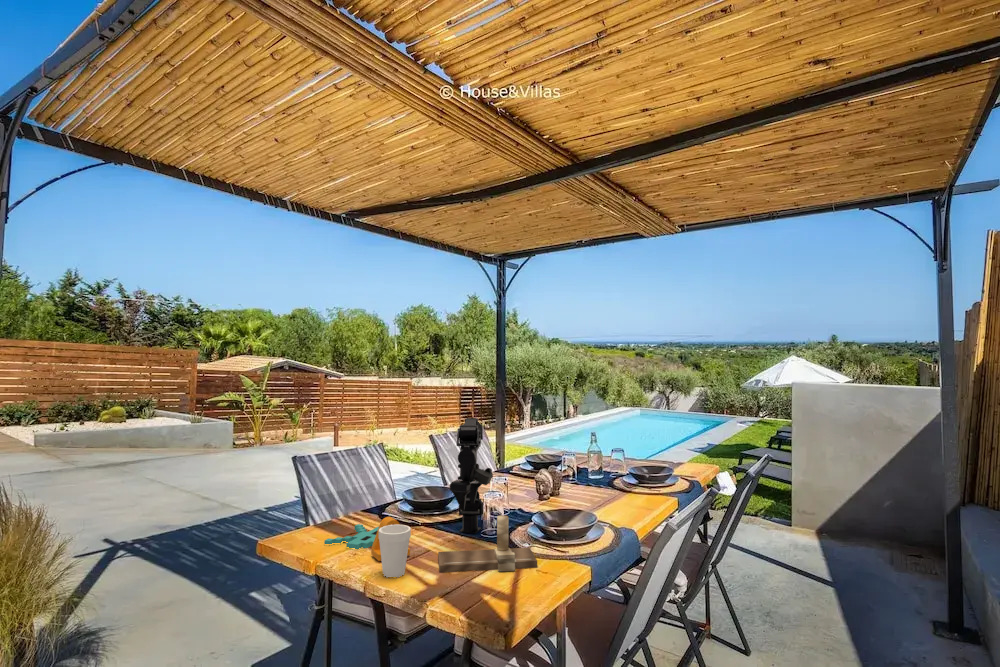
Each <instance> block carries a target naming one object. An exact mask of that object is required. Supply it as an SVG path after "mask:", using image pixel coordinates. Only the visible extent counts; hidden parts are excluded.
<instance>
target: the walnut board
mask: <svg viewBox="0 0 1000 667" xmlns="http://www.w3.org/2000/svg"><path fill="white" fill-rule="evenodd" d="M494 549H495V548H494ZM494 549H471V550H469V549H468V550H448V551H447V550H446V551H438V554H437V557H438V559H437V560H438V571H439V573H451V572H452V573H454V572H455V573H456V572H457V571H459V572H469V571H468V570H478V571H494V570H495V571H498V561H497V559H496V556H495V554H494ZM510 549H511V551H512V552H514V554H515V570H517V569H531V568H532V569H536V568H538V559H537V558H536V556H535V555H534V553H533V552H532V550H531V548H530V547H517V548H510Z"/></svg>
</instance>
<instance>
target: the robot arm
mask: <svg viewBox="0 0 1000 667" xmlns="http://www.w3.org/2000/svg"><path fill="white" fill-rule="evenodd" d="M483 431H484V426H483V425H482V423H480V422H479V418H477V417H466V418H464V423H463V424H461V425H459V427H458V428H457V432H456V447H459V452H458V454H457V460H458V463H459V464H458V465H457V468H458V469H459V476H457V479H455V480H454V481H451V482H450V483H449V491H451V493H452V494H453V496H454V498H455V499H456V502H457V504H458V516H462V528H461V529H459V533H467V534H474V535H475V534H477V533H479V531H480V530H482V527H479V516H482V515H484V502H483V500H482V498H481V496H480V493H479V488H480V487H481V486H482V485H484V486H488V484H490V483H491V482H492V479H493V478H494V474H493V469H492V468H490V467H487V468H485V469H484V468H483V469H481V468H480V464H479V463H477V460H478V456H477V455H478V450H479V449H480V447H481V446H482V440H483V439H484V432H483Z"/></svg>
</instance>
